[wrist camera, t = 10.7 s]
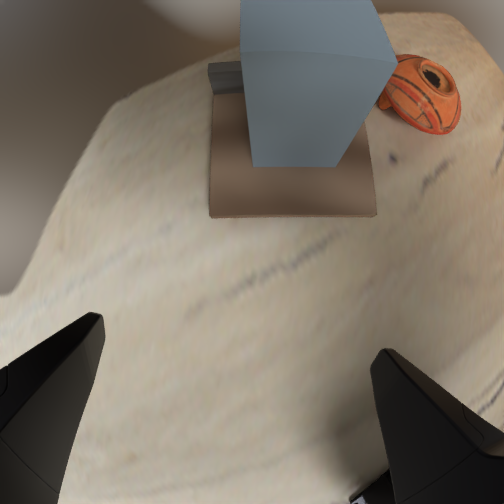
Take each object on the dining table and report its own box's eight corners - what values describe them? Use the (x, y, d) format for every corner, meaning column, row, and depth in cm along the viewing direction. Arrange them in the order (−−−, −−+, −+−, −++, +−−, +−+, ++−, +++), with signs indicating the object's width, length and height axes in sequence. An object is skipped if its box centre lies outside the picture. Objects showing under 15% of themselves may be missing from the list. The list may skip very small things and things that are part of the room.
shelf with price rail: (372, 217, 21) (393, 204, 17) (211, 218, 21) (200, 205, 17) (354, 92, 22) (366, 65, 18) (216, 90, 22) (208, 61, 18)
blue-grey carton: (335, 167, 20) (398, 63, 8) (252, 167, 21) (239, 51, 9) (327, 108, 21) (366, -8, 9) (252, 107, 21) (241, -16, 9)
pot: (369, 61, 22) (407, 22, 15) (429, 103, 23) (473, 77, 17) (354, 119, 21) (403, 80, 14) (423, 165, 22) (477, 143, 16)
